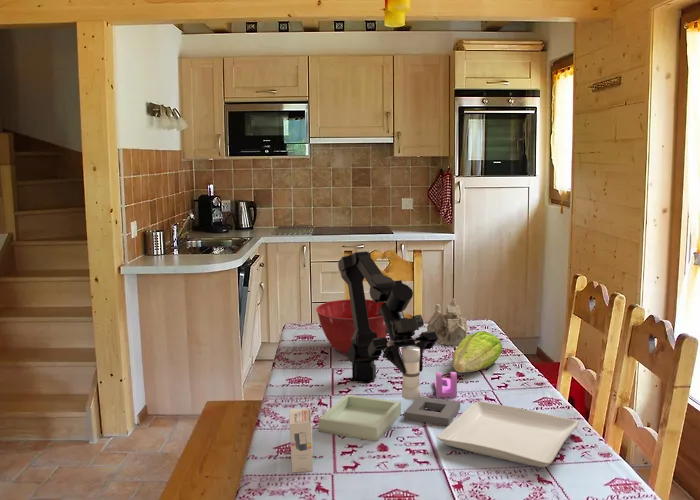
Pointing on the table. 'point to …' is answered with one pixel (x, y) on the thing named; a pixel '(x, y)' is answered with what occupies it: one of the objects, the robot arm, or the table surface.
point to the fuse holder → (419, 414)
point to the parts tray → (360, 417)
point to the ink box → (301, 440)
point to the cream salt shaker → (411, 372)
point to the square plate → (509, 433)
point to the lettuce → (476, 352)
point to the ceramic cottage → (448, 325)
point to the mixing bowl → (347, 322)
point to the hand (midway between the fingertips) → (413, 372)
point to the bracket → (446, 390)
